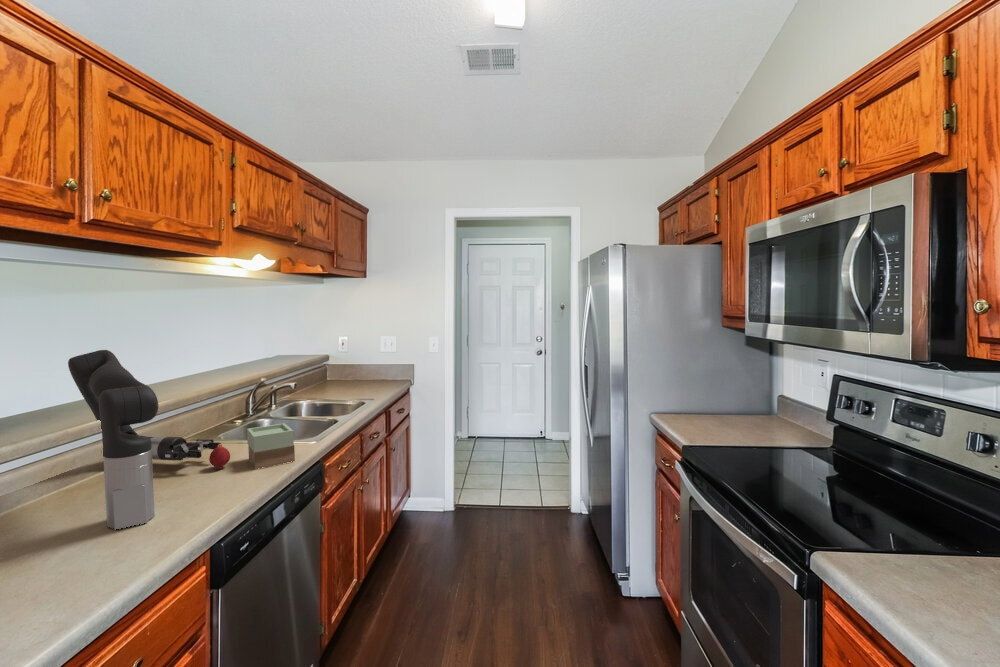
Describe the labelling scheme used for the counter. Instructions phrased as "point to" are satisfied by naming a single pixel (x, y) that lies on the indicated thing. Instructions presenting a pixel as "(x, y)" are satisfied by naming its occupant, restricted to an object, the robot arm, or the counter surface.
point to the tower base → (271, 456)
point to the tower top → (270, 437)
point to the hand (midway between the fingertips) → (210, 450)
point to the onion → (219, 456)
